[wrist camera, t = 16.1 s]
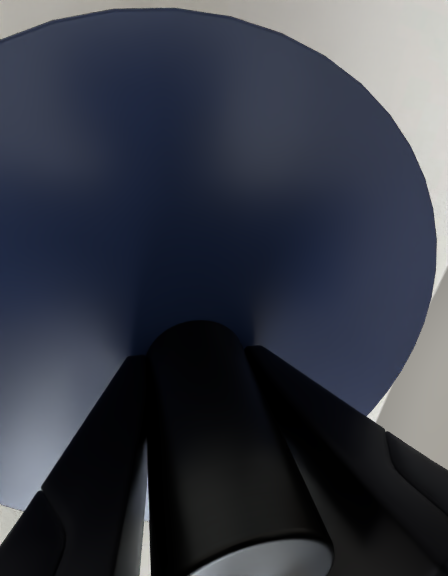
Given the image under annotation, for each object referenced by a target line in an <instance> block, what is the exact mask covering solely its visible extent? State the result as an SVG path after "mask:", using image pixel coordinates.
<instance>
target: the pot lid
mask: <svg viewBox="0 0 448 576" xmlns="http://www.w3.org/2000/svg"><path fill="white" fill-rule="evenodd" d="M436 249H437V238H436V229H435V220H434V212H433V207H432V203H431V199H430V195H429V192H428V188H427V184H426V180H425V177H424V175H423V173H422V170H421V168H420V166H419V164H418V161H417V159H416V157H415V155H414V152H413V150H412V148H411V146H410V144H409V143H408V141H407V140H406V138H405V137H404V135H403V134H402V132H401V131H400V129H399V128H398V126H397V125H396V123H395V121H394V120H393V118H392V117H391V115H390V114H389V113H388V112H387V111H386V110H385V109H384V108H383V106H382V105H381V104H380V103H379V102H378V101H377V100H376V99H375V98H374V97H373V96H372V95H371V94H370V92H369V91H368V90H367V89H366V88H365V87H364V86H363V85H362V84H361V83H360V82H359V81H357V80H356V79H355V78H353V77H352V76H351V75H349V74H348V73H347V72H345V71H344V70H343V69H342V68H340V67H339V66H338V65H336V64H335V63H334V62H332V61H331V60H330V59H329V58H327V57H326V56H324V55H322V54H321V53H319V52H317V51H315V50H313V49H311V48H309V47H307V46H305V45H303V44H302V43H300V42H298V41H296V40H294V39H292V38H290V37H288V36H286V35H285V34H283V33H280V32H277V31H274V30H271V29H268V28H265V27H262V26H259V25H256V24H253V23H250V22H247V21H244V20H241V19H238V18H234V17H231V16H225V15H219V14H212V13H206V12H199V11H193V10H186V9H179V8H125V9H109V10H104V11H99V12H93V13H88V14H83V15H77V16H72V17H66V18H61V19H56V20H51V21H49V22H46V23H43V24H41V25H38V26H35V27H33V28H30V29H27V30H25V31H22V32H19V33H16V34H14V35H11V36H8V37H6V38H3V39H0V504H1V505H3V506H6V507H10V508H13V509H17V510H21V511H25V509H26V508H27V506H28V505H29V503H30V502H31V500H32V499H33V497H34V496H35V494H36V493H37V492H38V491H40V490H41V486H42V484H43V483H44V481H45V480H46V478H47V477H48V475H49V474H50V472H51V470H52V469H53V467H54V466H55V464H56V463H57V461H58V460H59V458H60V457H61V455H62V454H63V452H64V451H65V449H66V448H67V446H68V445H69V443H70V442H71V440H72V439H73V437H74V436H75V434H76V433H77V431H78V430H79V428H80V427H81V425H82V424H83V422H84V421H85V419H86V418H87V416H88V415H89V413H90V412H91V410H92V409H93V407H94V406H95V404H96V403H97V401H98V400H99V398H100V397H101V395H102V394H103V392H104V391H105V389H106V387H107V386H108V384H109V383H110V381H111V380H112V378H113V377H114V375H115V374H116V372H117V371H118V369H119V368H120V366H121V365H122V363H123V362H124V360H125V359H126V358H127V357H128V356H133V355H145V356H146V368H147V392H148V411H147V429H146V437H147V468H148V479H147V491H146V503H145V515H144V521H149V529H150V560H151V576H326V575H327V574H328V573H329V571H330V569H331V567H332V565H333V563H334V558H335V554H334V545H333V542H332V540H331V538H330V536H329V533H328V531H327V529H326V527H325V525H324V523H323V520H322V518H321V516H320V514H319V512H318V510H317V507H316V505H315V503H314V501H313V499H312V497H311V494H310V492H309V490H308V488H307V486H306V484H305V481H304V479H303V477H302V475H301V473H300V471H299V468H298V466H297V464H296V462H295V460H294V458H293V455H292V453H291V451H290V449H289V447H288V445H287V442H286V440H285V438H284V436H283V434H282V432H281V429H280V427H279V425H278V423H277V421H276V419H275V416H274V414H273V412H272V410H271V408H270V406H269V403H268V401H267V399H266V397H265V395H264V393H263V390H262V388H261V386H260V384H259V382H258V380H257V377H256V375H255V373H254V371H253V369H252V367H251V364H250V362H249V360H248V358H247V356H246V354H245V351H244V350H245V348H246V347H247V346H254V345H262V346H264V347H265V348H267V349H268V350H270V351H271V352H272V353H274V354H275V355H277V356H278V357H280V358H281V359H283V360H284V361H286V362H287V363H289V364H290V365H292V366H293V367H294V368H296V369H297V370H299V371H300V372H302V373H303V374H305V375H306V376H308V377H309V378H311V379H312V380H314V381H315V382H316V383H318V384H319V385H321V386H322V387H324V388H325V389H327V390H328V391H330V392H331V393H333V394H334V395H336V396H337V397H338V398H340V399H341V400H343V401H344V402H346V403H347V404H349V405H350V406H352V407H353V408H355V409H356V410H358V411H359V412H360V413H362V414H363V415H365V416H367V415H368V414H369V413H370V412H371V411H372V410H373V409H374V407H375V406H376V405H377V404H378V403H379V401H380V400H381V399H382V398H383V396H384V395H385V394H386V393H387V391H388V390H389V389H390V387H391V386H392V384H393V383H394V381H395V380H396V378H397V377H398V375H399V374H400V372H401V371H402V369H403V367H404V365H405V363H406V362H407V360H408V358H409V356H410V354H411V352H412V350H413V349H414V346H415V344H416V342H417V339H418V337H419V334H420V332H421V329H422V327H423V325H424V322H425V318H426V314H427V311H428V308H429V304H430V301H431V297H432V291H433V285H434V278H435V272H436Z"/></svg>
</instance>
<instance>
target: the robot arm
mask: <svg viewBox="0 0 448 576" xmlns="http://www.w3.org/2000/svg"><path fill="white" fill-rule="evenodd" d="M244 351H245V354H246V356H247V358H248V360H249V362H250V364H251V367H252V369H253V371H254V373H255V375H256V377H257V380H258V382H259V384H260V386H261V388H262V390H263V393H264V395H265V397H266V399H267V401H268V403H269V406H270V408H271V410H272V412H273V414H274V416H275V419H276V421H277V423H278V425H279V427H280V429H281V432H282V434H283V436H284V438H285V440H286V442H287V445H288V447H289V449H290V451H291V453H292V455H293V458H294V460H295V462H296V464H297V466H298V468H299V471H300V473H301V475H302V477H303V479H304V481H305V484H306V486H307V488H308V490H309V492H310V494H311V497H312V499H313V501H314V503H315V505H316V507H317V510H318V512H319V514H320V516H321V518H322V520H323V523H324V525H325V527H326V529H327V531H328V533H329V536H330V538H331V540H332V542H333V545H334V554H335V558H334V563H333V565H332V567H331V569H330V571H329V573H328V574H327V575H326V576H448V470H447V469H445V468H443V467H442V466H440V465H438V464H437V463H435V462H434V461H432V460H430V459H429V458H427V457H426V456H424V455H423V454H421V453H420V452H418V451H417V450H415V449H414V448H412V447H411V446H409V445H408V444H406V443H405V442H403V441H402V440H400V439H399V438H397V437H396V436H394V435H393V434H391V433H390V432H388V431H387V432H385V429H384V428H382V427H381V426H380V425H378V424H377V423H375V422H374V421H372V420H371V419H369V418H368V417H366V416H365V415H363V414H362V413H360V412H359V411H358V410H356V409H355V408H353V407H352V406H350V405H349V404H347V403H346V402H344V401H343V400H341V399H340V398H338V397H337V396H336V395H334V394H333V393H331V392H330V391H328V390H327V389H325V388H324V387H322V386H321V385H319V384H318V383H316V382H315V381H314V380H312V379H311V378H309V377H308V376H306V375H305V374H303V373H302V372H300V371H299V370H297V369H296V368H294V367H293V366H292V365H290V364H289V363H287V362H286V361H284V360H283V359H281V358H280V357H278V356H277V355H275V354H274V353H272V352H271V351H270V350H268V349H267V348H265V347H264V346H262V345H254V346H247V347H246V348H245V350H244ZM147 411H148V392H147V368H146V356H145V355H133V356H128V357H127V358H126V359H125V360H124V362H123V363H122V365H121V366H120V368H119V369H118V371H117V372H116V374H115V375H114V377H113V378H112V380H111V381H110V383H109V384H108V386H107V387H106V389H105V391H104V392H103V394H102V395H101V397H100V398H99V400H98V401H97V403H96V404H95V406H94V407H93V409H92V410H91V412H90V413H89V415H88V416H87V418H86V419H85V421H84V422H83V424H82V425H81V427H80V428H79V430H78V431H77V433H76V434H75V436H74V437H73V439H72V440H71V442H70V443H69V445H68V446H67V448H66V449H65V451H64V452H63V454H62V455H61V457H60V458H59V460H58V461H57V463H56V464H55V466H54V467H53V469H52V470H51V472H50V474H49V475H48V477H47V478H46V480H45V481H44V483H43V484H42V486H41V490H40V491H38V492H37V493H36V494H35V496H34V497H33V499H32V500H31V502H30V503H29V505H28V506H27V508H26V509H25V511H24V512H23V514H22V515H21V517H20V518H19V520H18V521H17V523H16V524H15V525H14V527H13V528H12V530H11V531H10V533H9V534H8V535H7V537H6V538H5V540H4V541H3V543H2V544H1V546H0V576H139V574H140V563H141V551H142V539H143V527H144V515H145V503H146V491H147V479H148V468H147V437H146V429H147Z"/></svg>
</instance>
